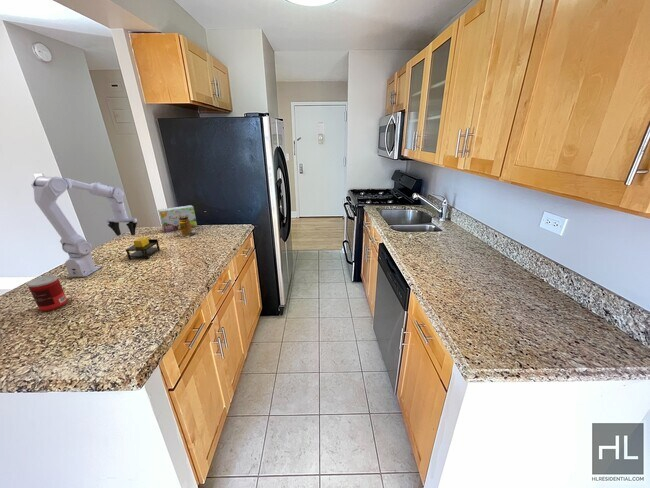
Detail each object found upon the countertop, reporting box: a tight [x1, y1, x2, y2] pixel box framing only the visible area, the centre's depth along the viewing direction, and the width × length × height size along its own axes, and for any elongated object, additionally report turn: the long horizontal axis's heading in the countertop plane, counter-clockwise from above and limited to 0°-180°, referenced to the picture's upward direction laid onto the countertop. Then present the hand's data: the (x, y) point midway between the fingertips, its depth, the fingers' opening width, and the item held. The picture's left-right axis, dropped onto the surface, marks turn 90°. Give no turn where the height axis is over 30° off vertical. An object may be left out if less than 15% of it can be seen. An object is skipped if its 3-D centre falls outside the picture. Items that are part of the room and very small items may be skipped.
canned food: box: [27, 274, 68, 312], centre depth 95 cm, size 8×8×11 cm
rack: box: [125, 238, 161, 260], centre depth 140 cm, size 12×10×7 cm
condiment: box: [179, 216, 197, 238], centre depth 170 cm, size 7×8×12 cm
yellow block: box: [132, 236, 149, 247], centre depth 139 cm, size 6×4×4 cm, turn 3°
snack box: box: [157, 204, 198, 233], centre depth 181 cm, size 21×6×15 cm, turn 132°
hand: (126, 235), depth 140 cm, fingers open, 7 cm apart
